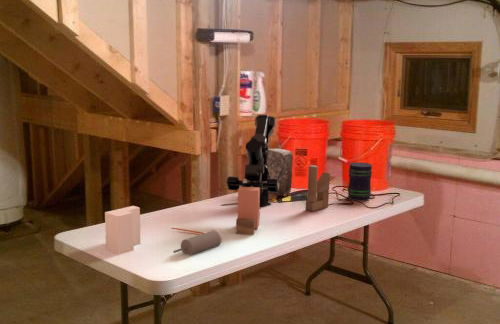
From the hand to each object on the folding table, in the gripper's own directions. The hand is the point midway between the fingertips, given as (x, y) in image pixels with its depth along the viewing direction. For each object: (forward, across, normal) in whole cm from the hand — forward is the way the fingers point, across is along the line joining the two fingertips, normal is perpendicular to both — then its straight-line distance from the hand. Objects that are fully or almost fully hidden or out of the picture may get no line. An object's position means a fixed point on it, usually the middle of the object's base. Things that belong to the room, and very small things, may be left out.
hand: (250, 203), depth 194 cm
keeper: (+7, 0, +4) cm, 8 cm away
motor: (+23, -19, -11) cm, 32 cm away
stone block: (-29, +6, +40) cm, 50 cm away
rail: (+7, 0, +4) cm, 8 cm away
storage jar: (-29, +41, +40) cm, 65 cm away
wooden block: (-14, +23, +25) cm, 37 cm away
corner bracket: (+27, -36, -16) cm, 48 cm away
